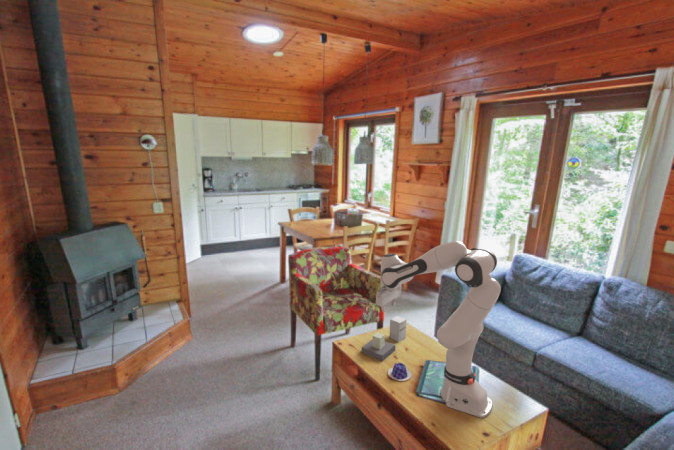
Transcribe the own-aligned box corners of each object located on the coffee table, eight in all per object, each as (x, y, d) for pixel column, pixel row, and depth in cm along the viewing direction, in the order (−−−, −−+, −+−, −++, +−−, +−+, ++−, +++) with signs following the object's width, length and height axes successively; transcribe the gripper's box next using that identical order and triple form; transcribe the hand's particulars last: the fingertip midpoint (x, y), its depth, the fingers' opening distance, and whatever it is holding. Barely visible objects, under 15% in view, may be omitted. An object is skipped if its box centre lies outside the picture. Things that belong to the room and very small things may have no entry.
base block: (395, 351, 200) (395, 344, 199) (382, 362, 190) (382, 355, 189) (375, 343, 209) (375, 337, 208) (361, 353, 198) (361, 347, 198)
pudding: (415, 380, 174) (415, 371, 173) (392, 383, 172) (392, 374, 171) (406, 366, 185) (406, 357, 184) (384, 369, 183) (385, 360, 182)
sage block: (384, 345, 198) (384, 334, 197) (379, 349, 195) (380, 338, 193) (377, 343, 202) (377, 332, 200) (372, 346, 198) (372, 335, 196)
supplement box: (398, 342, 208) (399, 323, 206) (389, 337, 214) (389, 319, 211) (406, 338, 213) (406, 319, 211) (396, 333, 219) (397, 315, 216)
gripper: (383, 291, 171) (383, 317, 174) (403, 279, 187) (403, 303, 189) (372, 288, 175) (372, 313, 178) (393, 277, 190) (393, 300, 193)
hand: (388, 308), depth 184 cm, fingers open, 8 cm apart
